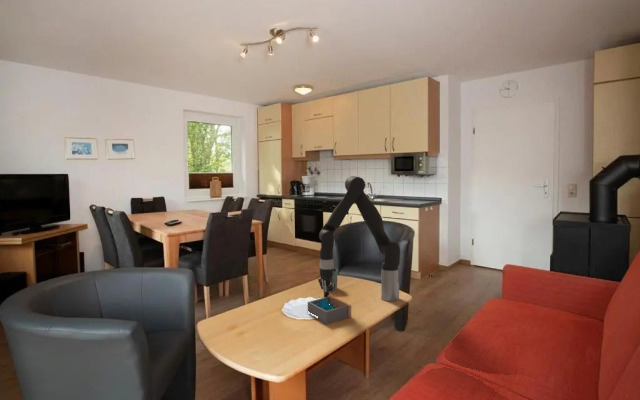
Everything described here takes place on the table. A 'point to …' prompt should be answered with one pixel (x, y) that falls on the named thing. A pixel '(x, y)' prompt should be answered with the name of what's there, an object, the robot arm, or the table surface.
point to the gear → (325, 305)
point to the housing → (327, 312)
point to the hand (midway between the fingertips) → (326, 298)
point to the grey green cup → (335, 278)
